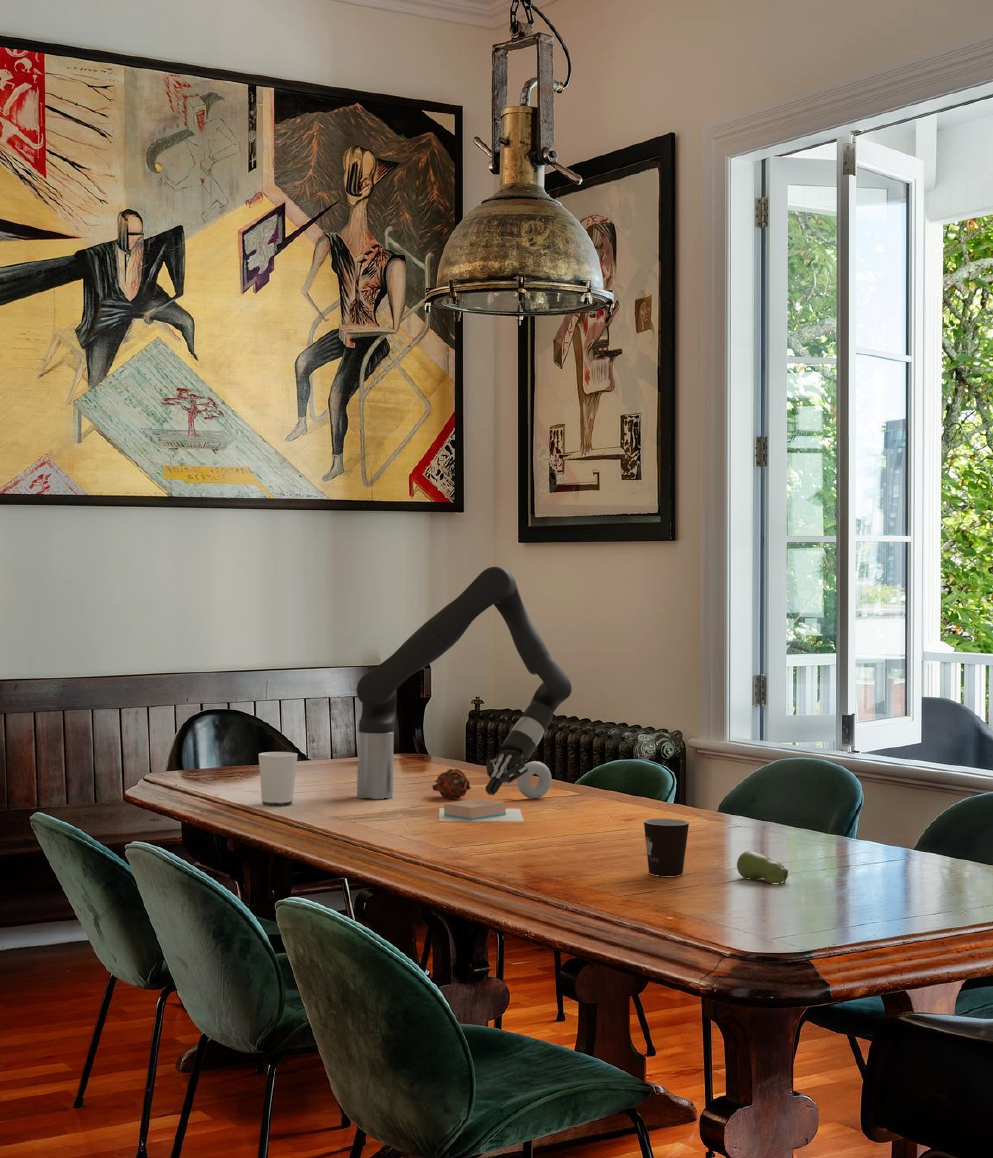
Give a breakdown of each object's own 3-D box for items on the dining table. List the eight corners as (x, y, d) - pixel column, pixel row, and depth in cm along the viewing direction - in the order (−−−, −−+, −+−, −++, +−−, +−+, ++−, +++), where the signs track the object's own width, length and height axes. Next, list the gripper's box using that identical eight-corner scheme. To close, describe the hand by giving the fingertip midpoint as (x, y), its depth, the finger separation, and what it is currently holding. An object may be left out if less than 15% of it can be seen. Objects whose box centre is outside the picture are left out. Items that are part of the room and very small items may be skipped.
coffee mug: (687, 879, 256) (688, 826, 256) (641, 877, 258) (642, 824, 258) (689, 868, 268) (690, 817, 268) (645, 865, 269) (646, 815, 269)
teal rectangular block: (478, 798, 335) (444, 803, 327) (505, 802, 329) (471, 807, 321) (478, 810, 335) (444, 815, 327) (505, 815, 329) (471, 820, 320)
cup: (293, 807, 340) (294, 756, 340) (254, 806, 339) (255, 755, 340) (299, 801, 349) (300, 752, 350) (261, 801, 349) (261, 751, 350)
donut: (547, 797, 365) (548, 759, 365) (553, 798, 362) (554, 761, 362) (514, 798, 360) (514, 761, 360) (520, 800, 357) (520, 762, 357)
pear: (748, 846, 262) (795, 861, 255) (744, 872, 262) (790, 888, 256) (734, 849, 257) (780, 865, 251) (729, 876, 258) (776, 893, 252)
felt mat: (439, 822, 320) (439, 820, 320) (439, 809, 339) (439, 807, 340) (524, 822, 320) (524, 821, 320) (519, 810, 340) (519, 808, 340)
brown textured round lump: (463, 807, 354) (438, 808, 364) (483, 786, 359) (458, 787, 368) (445, 782, 352) (420, 783, 362) (466, 761, 357) (441, 763, 366)
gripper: (497, 727, 343) (462, 780, 334) (536, 731, 334) (501, 785, 325) (510, 747, 347) (476, 799, 338) (550, 751, 338) (516, 805, 329)
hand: (489, 792), depth 332 cm, fingers closed
